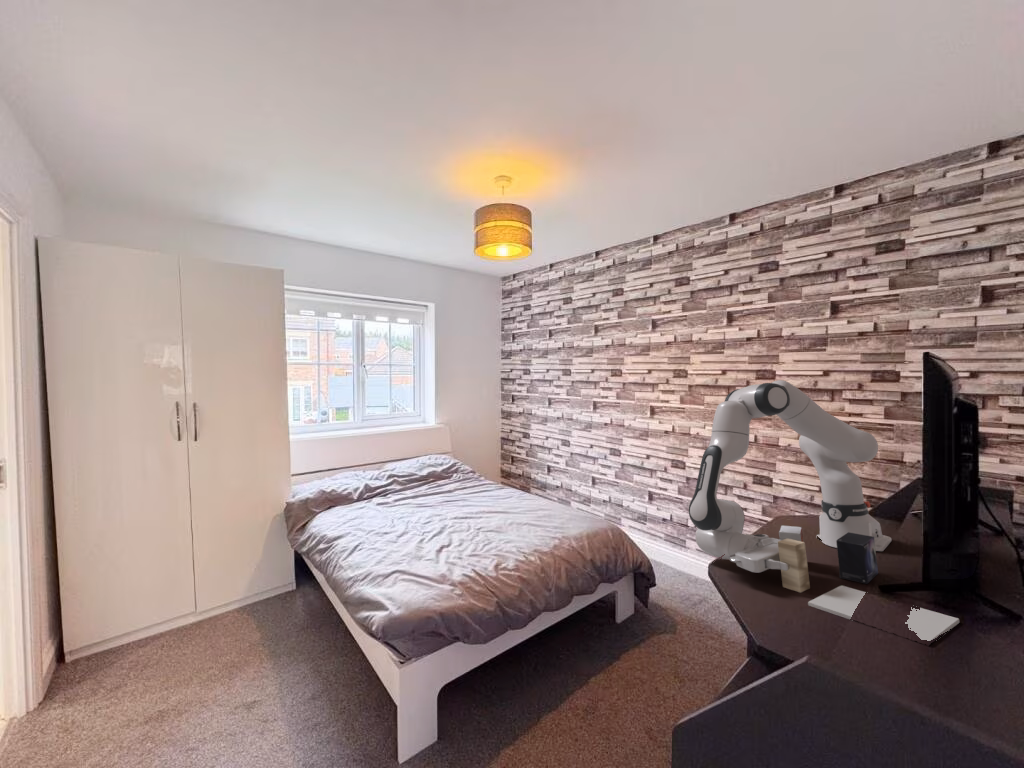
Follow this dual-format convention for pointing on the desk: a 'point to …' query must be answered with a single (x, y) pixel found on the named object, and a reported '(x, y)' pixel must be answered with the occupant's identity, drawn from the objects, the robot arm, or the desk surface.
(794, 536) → the small box
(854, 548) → the small box
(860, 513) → the robot arm
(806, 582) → the maple block
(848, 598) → the rubber mat
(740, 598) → the desk surface
